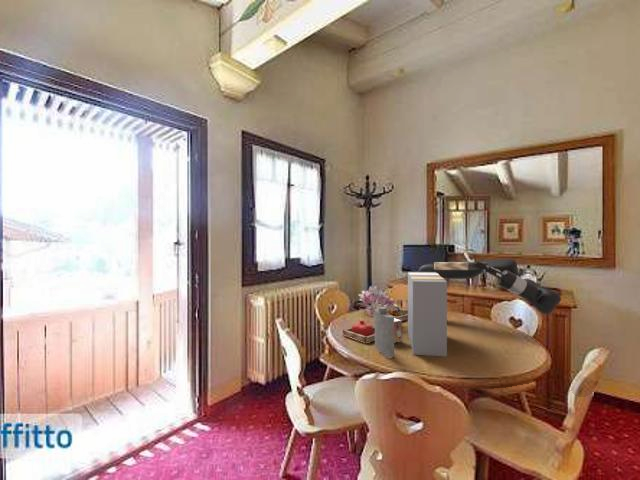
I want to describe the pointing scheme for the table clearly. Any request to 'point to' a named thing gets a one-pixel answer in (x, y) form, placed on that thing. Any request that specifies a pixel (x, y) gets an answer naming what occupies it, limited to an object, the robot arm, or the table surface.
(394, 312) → the nautilus
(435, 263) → the dark brown square bar
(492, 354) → the table surface
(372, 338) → the frame
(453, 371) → the table surface
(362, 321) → the butter dish
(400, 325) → the small box
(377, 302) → the flower
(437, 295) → the cabinet
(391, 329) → the hip flask
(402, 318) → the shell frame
